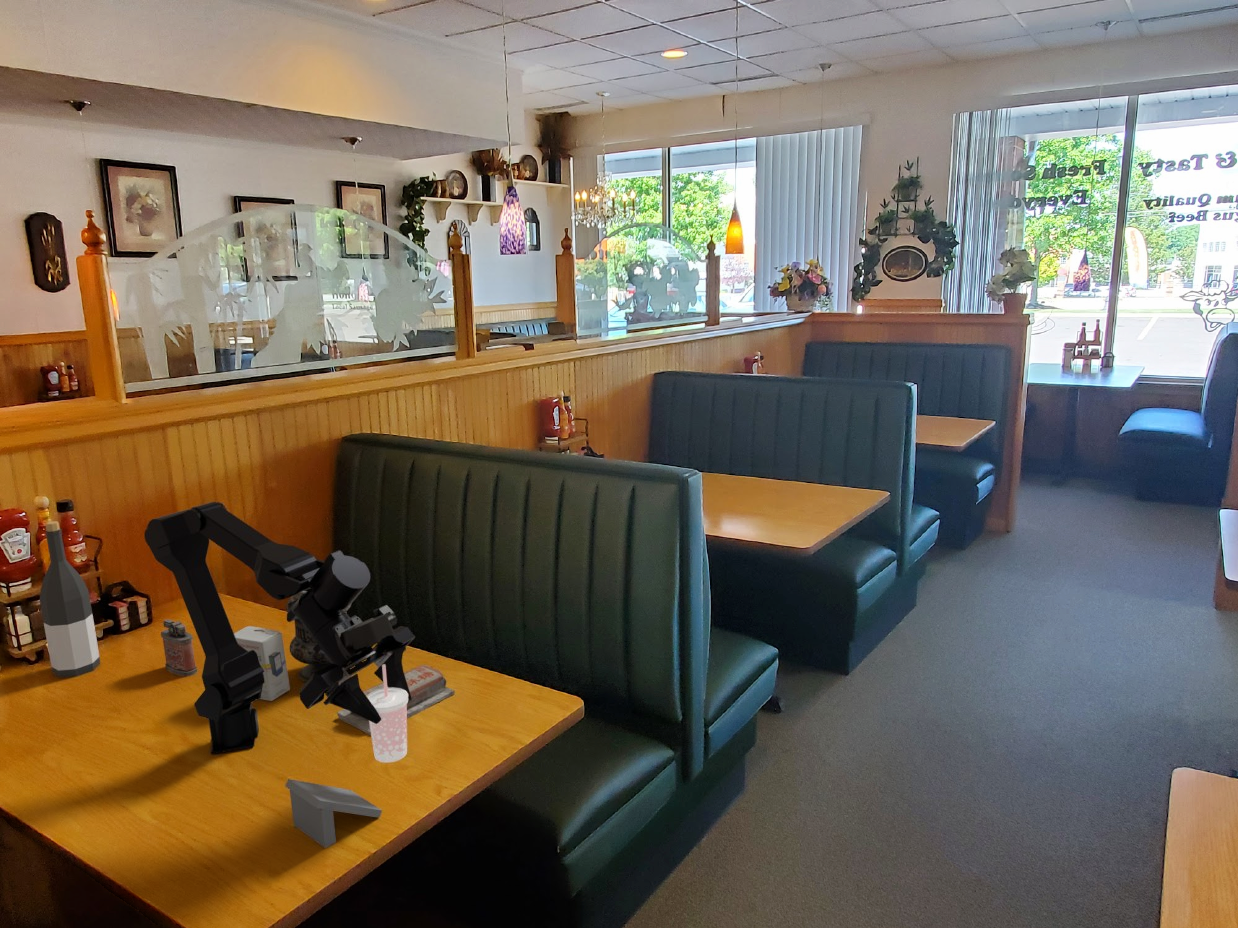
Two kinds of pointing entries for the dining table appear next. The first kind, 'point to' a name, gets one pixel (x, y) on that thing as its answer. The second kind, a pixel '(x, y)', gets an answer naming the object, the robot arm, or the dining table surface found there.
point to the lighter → (178, 649)
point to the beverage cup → (389, 722)
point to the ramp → (324, 808)
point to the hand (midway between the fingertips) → (394, 711)
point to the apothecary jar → (306, 647)
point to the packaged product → (423, 688)
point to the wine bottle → (67, 613)
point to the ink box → (267, 658)
